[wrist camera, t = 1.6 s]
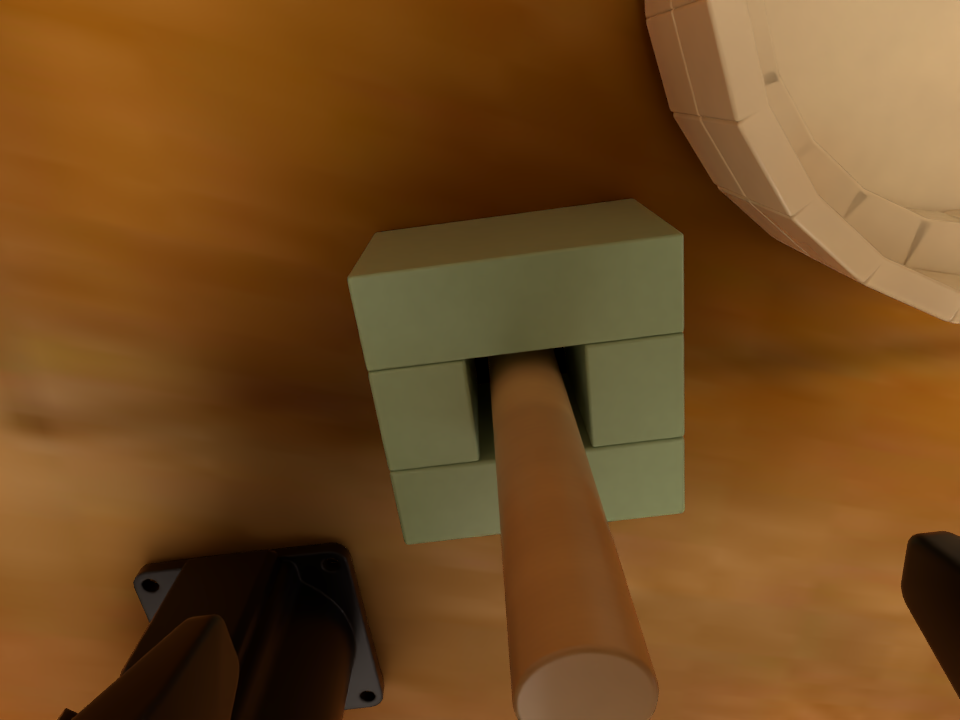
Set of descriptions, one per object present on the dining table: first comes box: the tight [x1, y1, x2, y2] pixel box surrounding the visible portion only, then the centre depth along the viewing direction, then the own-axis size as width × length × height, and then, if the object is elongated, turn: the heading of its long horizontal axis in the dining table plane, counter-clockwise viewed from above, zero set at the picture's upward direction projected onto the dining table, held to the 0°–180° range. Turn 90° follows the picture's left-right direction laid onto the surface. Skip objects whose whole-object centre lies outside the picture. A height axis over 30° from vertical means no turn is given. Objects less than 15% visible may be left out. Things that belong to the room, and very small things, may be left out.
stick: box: [488, 348, 659, 720], centre depth 12 cm, size 2×2×11 cm
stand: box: [347, 198, 685, 545], centre depth 15 cm, size 6×6×4 cm
